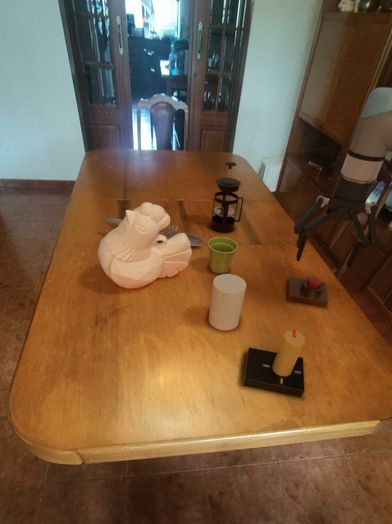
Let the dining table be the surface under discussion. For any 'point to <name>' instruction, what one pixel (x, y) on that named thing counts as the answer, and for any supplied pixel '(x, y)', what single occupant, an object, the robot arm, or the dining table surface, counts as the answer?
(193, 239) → the spaceship
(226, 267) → the plant pot
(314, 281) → the button
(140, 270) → the decorative rooster
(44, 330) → the dining table surface
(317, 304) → the switch block
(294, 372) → the dimmer
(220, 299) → the cup
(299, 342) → the dimmer knob
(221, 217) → the french press
